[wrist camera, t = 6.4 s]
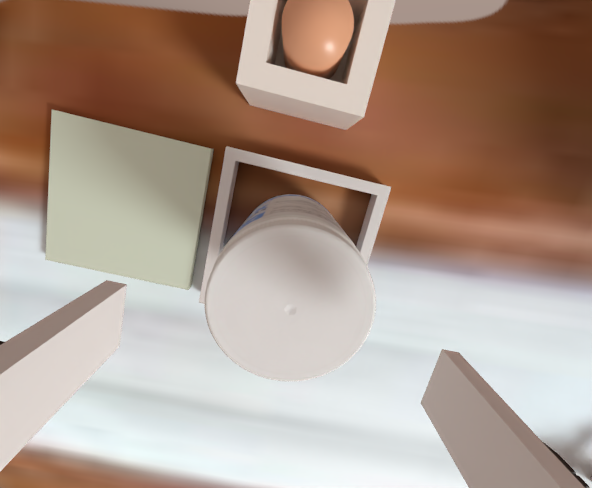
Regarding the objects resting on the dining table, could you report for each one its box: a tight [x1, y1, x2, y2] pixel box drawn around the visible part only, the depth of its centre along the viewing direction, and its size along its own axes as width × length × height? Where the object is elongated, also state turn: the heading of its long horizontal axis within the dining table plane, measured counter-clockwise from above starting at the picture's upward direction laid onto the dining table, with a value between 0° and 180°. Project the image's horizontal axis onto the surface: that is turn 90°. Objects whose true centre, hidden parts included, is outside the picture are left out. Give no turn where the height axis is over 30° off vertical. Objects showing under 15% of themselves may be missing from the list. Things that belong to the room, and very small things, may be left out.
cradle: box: [199, 146, 391, 304], centre depth 29 cm, size 15×15×2 cm
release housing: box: [236, 0, 396, 130], centre depth 23 cm, size 9×9×7 cm
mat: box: [45, 110, 214, 290], centre depth 28 cm, size 14×14×1 cm
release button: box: [282, 0, 354, 79], centre depth 21 cm, size 5×5×5 cm
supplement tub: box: [205, 194, 376, 381], centre depth 23 cm, size 10×10×15 cm
